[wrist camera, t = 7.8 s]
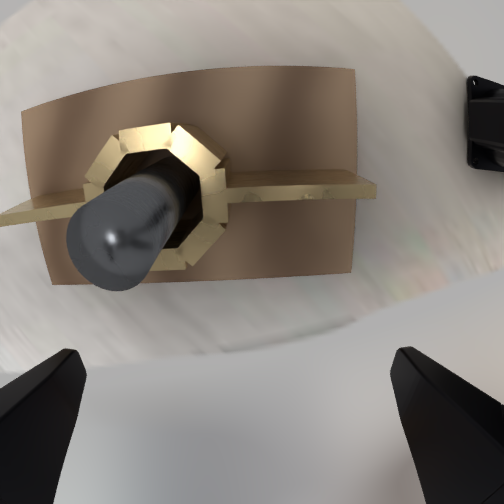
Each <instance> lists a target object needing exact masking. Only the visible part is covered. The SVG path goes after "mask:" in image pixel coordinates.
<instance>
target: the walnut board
mask: <svg viewBox="0 0 504 504" xmlns="http://www.w3.org/2000/svg"><path fill="white" fill-rule="evenodd" d="M21 116H22V131H23V143H24V153H25V161H26V169H27V176H28V182H29V189H30V195H31V199H32V198H34V197H36V196H39V195H44V194H50V193H56V192H61V191H67V190H73V189H80V188H83V184H84V183H87V182H89V180H88V179H87V178H85V177H84V176H85V175H86V173H87V172H88V170H89V168H90V167H91V165H92V164H93V162H94V161H95V159H96V158H97V156H98V155H99V153H100V152H101V150H102V149H103V147H104V146H105V144H106V143H107V141H108V140H109V139H110V137H111V136H112V135H115V134H119V130H125V129H131V128H137V127H143V126H150V125H157V124H165V123H188V124H190V125H196V126H197V127H198V128H200V129H201V130H202V131H203V132H204V133H206V134H207V135H208V136H209V137H210V138H212V139H213V140H214V141H215V142H216V143H217V144H219V145H220V146H221V147H222V148H223V149H224V150H226V151H227V153H226V154H225V156H224V157H223V158H230V164H231V172H247V171H270V170H308V169H345V170H347V171H350V172H352V173H354V174H356V175H357V108H356V83H355V69H345V68H331V67H312V66H250V67H231V68H217V69H206V70H197V71H188V72H180V73H173V74H166V75H159V76H153V77H147V78H142V79H136V80H131V81H126V82H121V83H117V84H112V85H108V86H104V87H100V88H96V89H92V90H88V91H84V92H80V93H77V94H73V95H70V96H66V97H63V98H60V99H56V100H53V101H50V102H47V103H44V104H41V105H38V106H35V107H33V108H30V109H27V110H24V111H22V112H21ZM168 156H175V155H174V154H173V153H172V152H170V151H169V150H168V149H167V148H165V149H156V150H152V151H151V152H150V153H149V155H148V156H147V157H146V159H145V160H144V161H143V163H142V164H141V165H140V167H139V168H138V169H137V172H139V171H141V170H143V169H145V168H146V167H148V166H150V165H152V164H154V163H155V162H157V161H159V160H161V159H163V158H165V157H168ZM201 209H202V196H201V185H200V187H199V190H198V192H197V194H196V196H195V197H194V199H193V200H192V202H191V203H190V205H189V207H188V208H187V210H186V211H185V213H184V214H183V216H182V218H181V219H188V218H194V217H195V216H196V215H197V214H198V212H199V211H200V210H201ZM355 211H356V199H313V200H283V201H259V202H240V203H232V204H231V210H230V216H229V222H227V226H226V230H225V231H224V233H223V234H222V235H221V236H220V237H219V238H218V239H217V240H216V241H215V242H214V243H213V245H212V246H211V247H210V248H209V249H208V250H207V251H206V252H205V253H204V254H203V256H202V257H201V258H200V259H199V260H198V261H197V262H196V263H195V264H194V266H192V265H190V264H189V263H188V266H187V268H186V269H185V270H162V271H149V272H148V274H147V275H146V277H145V278H144V279H143V280H142V282H140V283H162V282H190V281H214V280H236V279H256V278H275V277H292V276H309V275H324V274H339V273H351V268H352V257H353V244H354V229H355ZM70 219H71V217H67V218H59V219H52V220H44V221H37V222H36V225H37V229H38V234H39V238H40V242H41V246H42V250H43V254H44V257H45V261H46V265H47V268H48V272H49V275H50V278H51V282H52V285H79V284H92V283H91V282H89V281H88V280H87V279H86V278H84V277H83V276H82V275H81V274H80V272H79V271H78V270H77V269H76V267H75V266H74V264H73V262H72V260H71V258H70V256H69V253H68V249H67V243H66V232H67V227H68V224H69V221H70Z"/></svg>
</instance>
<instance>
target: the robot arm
mask: <svg viewBox="0 0 504 504" xmlns="http://www.w3.org/2000/svg"><path fill="white" fill-rule="evenodd" d="M473 80H474V82H475V85H474V83H473ZM467 84H468V107H469V140H468V164H469V166H470V167H472V168H475V169H483V170H491V171H499V172H504V85H501V84H498V83H496V82H493V81H490V80H487V79H484V78H481V77H478V76H469V77H468V79H467ZM474 159H475V163H474ZM86 376H87V374H86V369H85V367H84V365H83V362H82V360H81V357H80V355H79V353H78V351H77V350H74V349H63V350H61V351H59V352H58V353H56V354H55V355H53V356H51V357H50V358H48V359H47V360H45V361H43V362H42V363H40V364H39V365H37V366H35V367H34V368H32V369H31V370H29V371H27V372H26V373H24V374H23V375H21V376H19V377H18V378H16V379H15V380H13V381H11V382H10V383H8V384H7V385H5V386H4V387H2V388H0V504H53V502H54V498H55V493H56V489H57V485H58V482H59V478H60V474H61V470H62V467H63V463H64V460H65V456H66V453H67V449H68V446H69V443H70V440H71V437H72V433H73V430H74V427H75V424H76V420H77V416H78V412H79V408H80V403H81V399H82V394H83V390H84V386H85V382H86ZM390 377H391V381H392V385H393V389H394V394H395V398H396V402H397V407H398V411H399V415H400V419H401V423H402V426H403V429H404V432H405V435H406V438H407V441H408V444H409V448H410V451H411V454H412V457H413V460H414V463H415V466H416V470H417V473H418V477H419V480H420V483H421V487H422V491H423V494H424V497H425V501H426V504H504V405H503V404H502V405H501V403H500V402H498V401H497V400H495V399H494V398H492V397H491V396H489V395H487V394H486V393H484V392H483V391H481V390H480V389H478V388H476V387H475V386H473V385H472V384H470V383H469V382H467V381H465V380H464V379H462V378H461V377H459V376H458V375H456V374H454V373H453V372H451V371H450V370H448V369H447V368H445V367H443V366H442V365H440V364H439V363H437V362H436V361H434V360H432V359H431V358H429V357H428V356H426V355H424V354H423V353H421V352H420V351H418V350H417V349H415V348H413V347H411V346H410V347H402V348H399V349H398V350H397V352H396V354H395V358H394V361H393V364H392V367H391V370H390Z"/></svg>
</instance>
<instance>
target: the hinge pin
mask: <svg viewBox="0 0 504 504" xmlns="http://www.w3.org/2000/svg"><path fill="white" fill-rule="evenodd" d="M199 187H200V176H199V175H198V174H197V173H196V172H194V171H193V170H192V169H191V168H190V167H188V166H187V165H186V164H185V163H184V162H182V161H181V160H180V159H179V158H178V157H176V156H168V157H165V158H163V159H161V160H159V161H157V162H155V163H154V164H152V165H150V166H148V167H146V168H145V169H143V170H141V171H139V172H137V173H136V174H134V175H132V176H130V177H129V178H127V179H125V180H123V181H122V182H120V183H118V184H117V185H115V186H113V187H112V188H110V189H108V190H107V191H105V192H103V193H102V194H100V195H99V196H97V197H95V198H94V199H92V200H91V201H89V202H87V203H86V204H84V205H83V206H81V207H80V208H79V209H78V210H77V211H76V212H75V213H74V214H73V216H72V217H71V219H70V221H69V224H68V227H67V232H66V243H67V249H68V253H69V256H70V258H71V260H72V262H73V264H74V266H75V267H76V269H77V270H78V271H79V272H80V274H81V275H82V276H83V277H84V278H86V279H87V280H88V281H89V282H91V283H92V284H94V285H96V286H98V287H100V288H103V289H106V290H111V291H123V290H128V289H130V288H133V287H135V286H136V285H138V284H139V283H140V282H142V280H143V279H144V278H145V277H146V275H147V274H148V272H149V270H150V269H151V267H152V265H153V264H154V262H155V260H156V258H157V257H158V255H159V253H160V252H161V250H162V248H163V247H164V245H165V243H166V242H167V240H168V239H169V237H170V235H171V234H172V232H173V230H174V229H175V227H176V226H177V224H178V222H179V221H180V219H181V218H182V216H183V214H184V213H185V211H186V210H187V208H188V207H189V205H190V203H191V202H192V200H193V199H194V197H195V196H196V194H197V192H198V190H199Z"/></svg>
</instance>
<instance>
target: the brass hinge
mask: <svg viewBox="0 0 504 504" xmlns="http://www.w3.org/2000/svg"><path fill="white" fill-rule="evenodd" d="M165 148H167V149H168V150H169V151H170V152H172V153H173V154H174V155H175V156H176V157H178V158H179V159H180V160H181V161H182V162H184V163H185V164H186V165H187V166H188V167H190V168H191V169H192V170H193V171H194V172H196V173H197V174H198V175H199V176H200V185H201V196H202V209H201V210H200V211H199V212H198V214H197V215H196V216H195V217H194V218H188V219H180V221H179V222H178V224H177V226H176V227H175V229H174V230H173V232H172V234H171V235H170V237H169V239H168V240H167V242H166V243H165V245H164V247H163V248H162V250H161V252H160V253H159V255H158V257H157V258H156V260H155V262H154V264H153V265H152V267H151V269H150V270H149V271H162V270H185V269H186V268H187V266H188V263H189V264H190V265H192V266H194V264H195V263H196V262H197V261H198V260H199V259H200V258H201V257H202V256H203V254H204V253H205V252H206V251H207V250H208V249H209V248H210V247H211V246H212V245H213V243H214V242H215V241H216V240H217V239H218V238H219V237H220V236H221V235H222V234H223V233H224V231H225V230H226V226H227V222H229V216H230V210H231V204H232V203H240V202H259V201H283V200H313V199H376V184H374V183H372V182H370V181H368V180H366V179H364V178H362V177H360V176H358V175H356V174H354V173H352V172H350V171H347V170H345V169H308V170H270V171H247V172H231V164H230V158H223V157H224V156H225V154H226V153H227V151H226V150H224V149H223V148H222V147H221V146H220V145H219V144H217V143H216V142H215V141H214V140H213V139H212V138H210V137H209V136H208V135H207V134H206V133H204V132H203V131H202V130H201V129H200V128H198V127H197V126H196V125H190V124H188V123H165V124H157V125H150V126H143V127H137V128H131V129H125V130H119V134H115V135H112V136H111V137H110V139H109V140H108V141H107V143H106V144H105V146H104V147H103V149H102V150H101V152H100V153H99V155H98V156H97V158H96V159H95V161H94V162H93V164H92V165H91V167H90V168H89V170H88V172H87V173H86V175H85V176H84V177H85V178H87V179H88V180H89V182H87V183H84V184H83V188H80V189H73V190H67V191H61V192H56V193H50V194H44V195H39V196H36V197H34V198H32V199H30V200H28V201H26V202H23V203H21V204H19V205H17V206H15V207H13V208H11V209H9V210H7V211H5V212H3V213H1V214H0V227H2V226H9V225H16V224H22V223H29V222H37V221H44V220H52V219H59V218H67V217H72V216H73V214H74V213H75V212H76V211H77V210H78V209H79V208H80V207H81V206H83V205H84V204H86V203H87V202H89V201H91V200H92V199H94V198H95V197H97V196H99V195H100V194H102V193H103V192H105V191H107V190H108V189H110V188H112V187H113V186H115V185H117V184H118V183H120V182H122V181H123V180H125V179H127V178H129V177H130V176H132V175H134V174H136V173H137V169H138V168H139V167H140V165H141V164H142V163H143V161H144V160H145V159H146V157H147V156H148V155H149V153H150V152H151V151H152V150H156V149H165Z"/></svg>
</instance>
